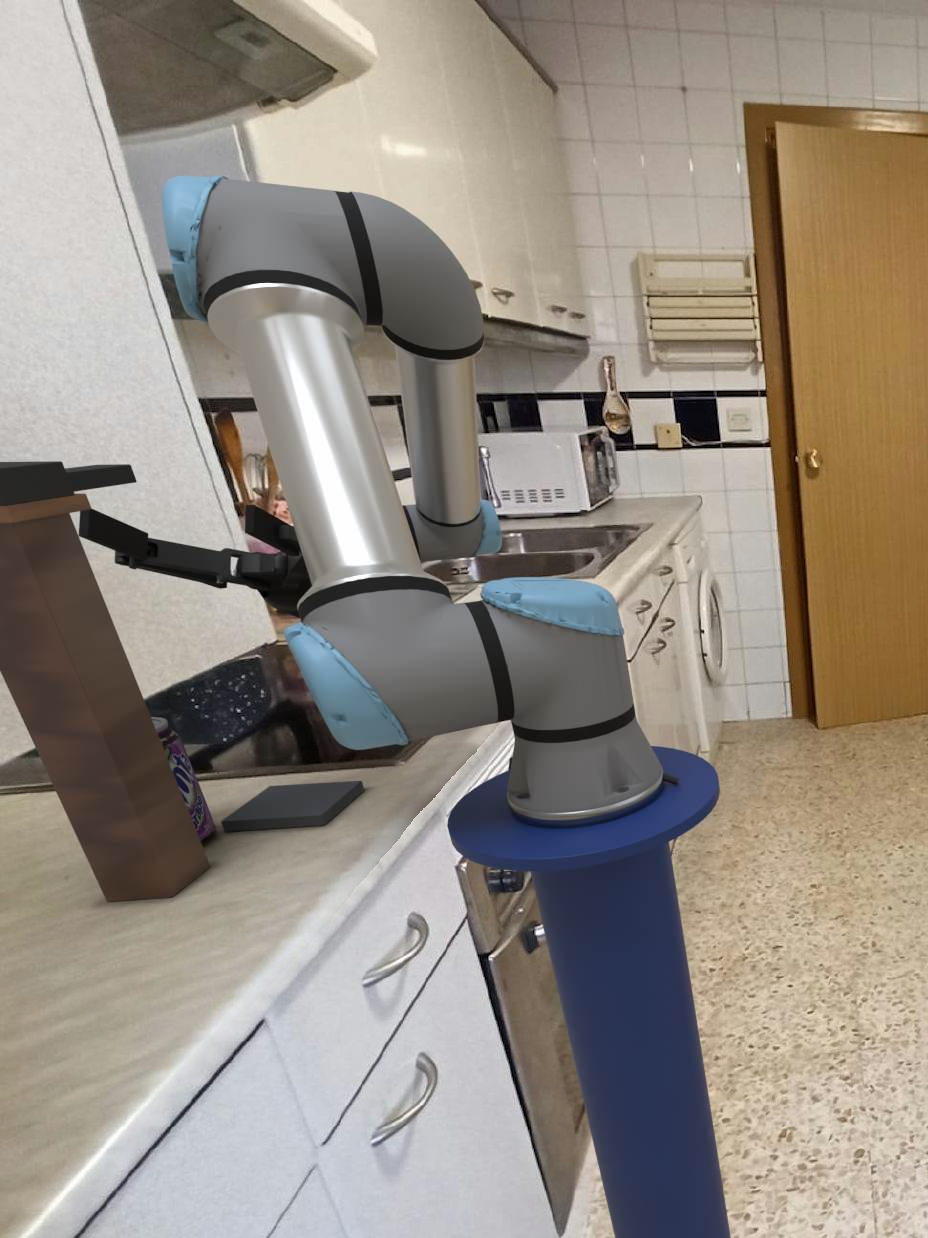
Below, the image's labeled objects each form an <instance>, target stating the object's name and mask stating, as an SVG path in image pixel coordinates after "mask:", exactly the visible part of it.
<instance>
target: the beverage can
mask: <svg viewBox="0 0 928 1238" xmlns="http://www.w3.org/2000/svg"><path fill="white" fill-rule="evenodd" d="M151 719H152V721H153V724H154V726H155V729H156V731H157V734H158V736H159V739H160V741H161V744H162V746H163V749H164V751H165V754H166V756H167V759H168V761H169V764H170V766H171V769H172V771H173V774H174V776H175V779H176V781H177V784H178V786H179V789H180V791H181V794H182V796H183V799H184V801H185V804H186V806H187V809H188V811H189V814H190V816H191V819H192V821H193V824H194V826H195V829H196V831H197V834H198V836H199V839H200V841H201V842H202V841H203V840H204V839H205V838H207V837H208V836H210V835H211V834H212V833H213V832H214V831H215V829H216V824H215V821H214V818H213V815H212V813H211V810H210V808H209V806H208V803H207V801H206V798H205V795H204V793H203V791H202V788H201V786H200V783H199V780H198V778H197V775H196V773H195V770H194V767H193V765H192V762H191V760H190V757H189V755H188V752H187V749H186V747H185V745H184V742H183V740H182V738H181V736H180V735H179V733H177V732H176V731H175V730H173V729H172V728H171V727H170V726H169V722H168V720H167V719H166V718H164V717H159V716H158V717H157V716H151Z"/></svg>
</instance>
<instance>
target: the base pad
mask: <svg viewBox="0 0 928 1238" xmlns="http://www.w3.org/2000/svg"><path fill="white" fill-rule="evenodd" d="M364 791H365V787H364V784H363V780H346V781H331V782H330V781H329V782H314V783H299V784H280V785H269V786H268V787H266V788H265V789H264V790H262V791H261V792H259V793H257V795H255V796H253V797H252V798H250V800H248V801H247V802H246V803H243V805H242V806H240V807H239V808H238V809H237V808H236V810H235V811H233V812H231V813H230V814H229V815H227V816H226V817H224V819H222V820H221V821H220V823H221V826H222V829H223V831H224V832H225V833H228V832H243V831H258V830H274V829H275V830H276V829H291V828H305V827H320V826H326V825H328V823H329V822H330V821H332V820H333V819H334V818H335V817H336V816H337V815H338V814H340V812H342V811H343V810H344V809H345V808H346V807H347V806H348V805H350V804H351V803H352V802H353V801H354V800H355V799H357V798H358V796H360V795H361V794H362V793H363V792H364Z"/></svg>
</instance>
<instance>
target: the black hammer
mask: <svg viewBox="0 0 928 1238" xmlns="http://www.w3.org/2000/svg"><path fill="white" fill-rule="evenodd" d="M137 482H138V481H137V478H136V475H135V472H134V470H133V467H132V465H131V464H129V463H128V464H126V463H125V464H124V463H123V464H121V463H120V464H119V463H118V464H117V463H116V464H92V465H83V466H73V467H65V466H64V464H63V461H60V460H58V461H57V460H56V461H55V460H54V461H53V460H52V461H48V460H47V461H0V506H7V505H14V504H20V503H27V502H33V501H40V500H46V499H53V498H59V497H66V496H72V495H75V494H76V493H75V492H81V491H88V490H95V489H102V488H108V487H115V486H122V485H128V484H135V483H137Z"/></svg>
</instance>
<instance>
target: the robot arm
mask: <svg viewBox="0 0 928 1238" xmlns="http://www.w3.org/2000/svg"><path fill="white" fill-rule="evenodd" d="M161 209H162V219H163V226H164V232H165V240H166V244H167V248H168V250H169V256H170V262H171V267H172V268H171V269H172V273H173V277H174V281H175V285H176V289H177V292H178V295H179V299H180V302H181V305H182V307H183V309H184V311H185V313H186V315H188V316H189V317H190V318H192V319H194V320H197V321H198V320H199V321H202V322H203V323H207V324H208V326H209V328H210V330H211V333H212V334H213V335H214V336H215V337H216V338H217V340H219V342H221V343H222V344H223V345H225V346H226V347H228V348H229V349H231V350H232V351H234V352H236V353H238V354H239V356H240V360H241V362H242V366H243V369H244V372H245V375H246V378H247V382H248V384H249V388H250V391H251V394H252V397H253V401H254V404H255V407H256V410H257V414H258V417H259V420H260V423H261V426H262V429H263V433H264V436H265V439H266V443H267V445H268V449H269V452H270V455H271V458H272V461H273V465H274V467H275V471H276V474H277V478H278V481H279V484H280V487H281V490H282V494H283V497H284V500H285V503H286V507H287V510H288V512H289V516H290V519H291V522H292V525H291V524H290V523H288V522H286V521H284V520H282V519H280V518H279V517H277V516H275V515H273V514H272V513H270V512H268V511H266V509H265V510H264V509H263V508H261V507H260V506H258V505H256V504H245V516H244V517H245V518H244V534H246V535H248V536H251V537H252V538H255V539H256V540H258V541H261V542H262V543H264V544H266V545H268V546H270V547H272V548H274V549H276V550H277V552H276V553H267V552H262V551H254V552H250V551H244V550H239V549H235V548H229V547H225V548H222V549H221V550H216V549H210V548H206V547H200V546H195V545H190V544H185V543H180V542H174V541H169V540H163V539H158V538H153V537H149V533H148V532H146V531H144V530H141V529H139V528H137V527H136V526H135V527H134V526H133V525H130V524H128V523H126V522H123V521H121V520H119V519H116V518H115V517H112V516H110V515H108V514H105V513H103V512H100V511H98V510H96V509H94V508H92V509H90V510H84V511H79V521H78V522H79V524H78V536H79V538H83V539H85V540H87V541H90V542H92V543H95V544H98V545H100V546H103V547H105V548H108V549H109V550H112V551H114V563H115V564H116V565H119V566H123V567H128V568H129V569H131V570H135V571H136V570H137V569H138V570H143V571H148V572H152V573H156V574H160V575H165V576H169V577H174V578H179V579H184V580H188V581H192V582H198V583H201V584H204V585H207V586H209V587H212V588H216V589H220V590H221V589H227V588H228V583H229V584H234V585H240V586H244V587H245V586H246V587H248V588H249V589H252V590H257V592H258V593H259V595H260V596H261V597H262V599H263V600H264V602H266V603H267V604H268V605H269V606H270V607H272V608H273V609H275V610H278V611H280V612H282V613H285V614H287V615H290V616H292V617H295V618H298V619H299V620H300V621H299V622H294V623H292V625H289V626H287V627H286V628H285V629H284V630H283V636H284V639H285V641H286V643H287V646H288V649H289V650H290V653H291V655H292V657H293V659H294V660H295V663H296V665H297V668H298V669H299V671H300V673H301V676H302V679H303V680H304V683H305V684H306V686H307V689H308V691H309V693H310V696H311V697H312V699H313V701H314V703H315V705H316V707H317V709H318V711H319V713H320V715H321V717H322V719H323V721H324V723H325V724H326V726H327V728H328V730H329V732H330V734H331V735H332V737H333V738H334V740H335V741H336V742H337V743H338V744H339V745H341V746H343V747H345V748H347V749H350V750H355V751H364V750H369V749H375V748H381V747H387V746H393V745H399V746H406V745H408V744H409V742H413V741H417V740H418V741H419V740H423V739H427V738H432V737H436V736H441V735H447V734H451V733H455V732H460V731H464V730H469V729H473V728H478V727H482V726H488V725H494V724H497V723H502V722H503V723H504V722H508V721H510V723H511V727H512V731H513V736H514V743H513V749H512V756H511V757H509V760H508V761H509V762H508V769H507V771H509V770H510V769H511V770H510V776H509V783H508V791H507V798H508V802H509V806H510V811H511V814H512V815H513V817H514V818H516V819H517V820H518V821H520V822H522V823H524V824H527V825H531V826H535V827H541V828H553V829H565V828H578V827H586V826H592V825H597V824H602V823H606V822H609V821H613V820H616V819H619V818H622V817H625V816H628V815H630V814H632V813H635V812H637V811H639V810H641V809H643V808H644V807H646V806H648V805H649V804H651V803H652V802H653V801H654V800H656V799H657V798H658V797H659V796H660V794H661V793H662V792H663V790H664V787H665V782H668V783H671V784H674V785H677V784H678V781H679V778H676V777H673V776H670V775H667V774H664V773H663V769H662V766H661V764H660V762H659V760H658V758H657V756H656V754H655V753H654V751H653V749H652V747H651V746H652V745H651V743H650V742H649V740H648V738H647V736H646V735H645V733H644V731H643V729H642V727H641V725H640V724H639V722H638V719H637V715H636V707H635V703H634V694H633V689H632V683H631V677H630V671H629V664H628V659H627V651H626V645H625V640H624V639H625V638H624V635H625V628H624V627H623V624H622V620H621V616H620V612H619V608H618V605H617V601H616V599H615V596H614V595H613V594H612V593H611V592H610V590H608V589H607V588H605V587H603V586H602V585H599V584H597V583H592V582H589V581H584V580H578V579H572V578H571V579H570V578H561V577H546V576H545V577H543V576H523V577H521V576H520V577H519V576H518V577H506V578H505V577H504V578H501V579H494V580H489V581H487V582H485V583H484V584H483V585H482V586H481V591H480V593H479V596H480V598H481V599H480V600H475V601H468V602H458V603H454V601H453V598H452V595H451V592H450V589H449V587H448V585H447V584H446V582H445V581H444V580H441V578H438V577H437V576H434V575H433V574H430V573H428V572H426V571H424V569H423V565H422V563H423V562H424V563H425V562H435V561H447V560H456V559H471V558H473V559H474V558H476V557H479V556H484V555H490V554H491V555H492V554H495V553H498V552H499V551H500V550H501V548H502V545H503V537H502V531H501V525H500V520H499V516H498V514H497V512H496V509H495V506H494V505H493V504H492V503H491V502H490V501H488V500H487V499H481V496H482V495H481V476H480V475H481V474H480V473H481V471H480V454H479V453H480V451H479V450H480V449H479V430H478V429H479V427H478V406H477V402H478V401H477V383H476V382H477V381H476V360H475V358H476V356H477V355H478V354H479V353H480V352H481V351H482V350H483V348H484V344H485V329H484V328H485V327H484V316H483V311H482V307H481V303H480V300H479V297H478V295H477V292H476V289H475V287H474V285H473V283H472V281H471V279H470V277H469V275H468V274H467V273H468V272H466V270H465V268H464V267H463V265H462V263H460V261H459V259H458V258H457V257H456V255H455V253H453V251H452V250H451V249H450V248H449V246H448V245H447V244H446V243H445V242H444V241H443V239H442V238H441V237H440V236H439V235H438V234H437V233H436V232H435V231H434V230H433V229H431V228H430V226H428V225H427V224H426V223H425V222H424V221H422V220H421V219H420V218H418V217H417V216H415V215H414V214H412V213H411V212H410V211H408V210H406V209H405V208H404V207H402V206H399V205H398V204H396V203H394V202H392V201H391V200H390V201H389V200H387V199H385V198H382V197H380V196H376V195H373V194H370V193H365V192H360V191H349V192H348V191H340V190H333V189H332V190H331V189H322V188H314V187H304V186H295V185H288V184H287V185H286V184H277V183H267V182H260V181H249V180H242V179H231V178H229V177H226V176H224V175H215V176H197V175H177V176H174V177H172V178H170V179H168V180H166V181H165V183H164V184H163V186H162V189H161ZM364 326H373V327H374V326H375V327H377V326H379V327H381V331H382V334H383V336H385V338H386V339H387V341H389V343H391V344H392V345H393V346H394V351H395V357H396V358H395V359H396V366H397V373H398V381H399V390H400V396H401V404H402V412H403V421H404V427H405V435H406V436H405V437H406V441H407V442H406V443H407V451H408V457H409V458H408V459H409V464H410V465H409V466H410V473H411V482H412V487H413V488H412V490H413V497H414V501H415V503H414V504H402V501H401V497H400V495H399V491H398V489H397V485H396V482H395V478H394V475H393V471H392V469H391V467H390V463H389V460H388V456H387V454H386V450H385V448H384V445H383V441H382V438H381V434H380V431H379V428H378V426H377V423H376V419H375V416H374V414H373V410H372V406H371V404H370V401H369V398H368V395H367V392H366V389H365V386H364V382H363V380H362V376H361V373H360V370H359V366H358V364H357V360H356V357H355V353H354V352H355V351H356V350H357V349H358V348H359V347H360V346H361V344H362V342H363V341H364V338H365V327H364ZM232 558H234V559H237V560H236V564H235V569H234V568H232ZM231 568H232V569H231ZM664 781H665V782H664Z"/></svg>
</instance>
